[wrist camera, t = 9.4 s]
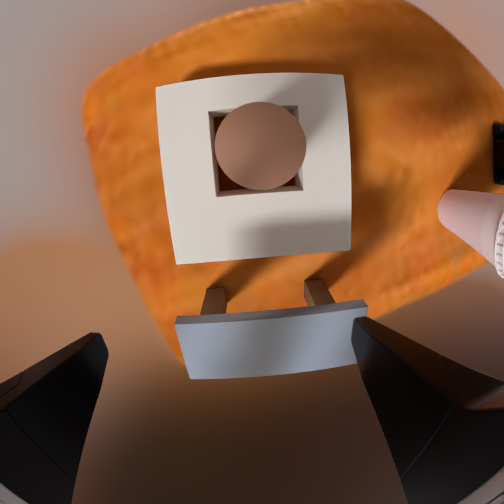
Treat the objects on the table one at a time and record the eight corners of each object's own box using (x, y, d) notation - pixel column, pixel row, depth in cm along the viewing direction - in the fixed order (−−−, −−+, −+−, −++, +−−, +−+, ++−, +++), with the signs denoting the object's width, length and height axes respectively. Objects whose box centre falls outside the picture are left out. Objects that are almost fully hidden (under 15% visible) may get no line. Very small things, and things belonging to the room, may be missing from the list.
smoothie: (463, 165, 19) (583, 196, 6) (476, 223, 21) (577, 278, 8) (419, 191, 20) (551, 242, 7) (434, 252, 22) (539, 330, 9)
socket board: (330, 84, 17) (343, 75, 14) (337, 237, 21) (350, 249, 19) (167, 95, 17) (155, 87, 14) (185, 249, 21) (176, 264, 19)
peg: (281, 121, 18) (302, 100, 11) (285, 175, 20) (309, 187, 12) (225, 125, 18) (211, 106, 11) (230, 179, 20) (219, 193, 12)
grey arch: (325, 250, 22) (368, 306, 13) (324, 294, 23) (358, 362, 15) (199, 260, 22) (174, 324, 13) (206, 304, 23) (190, 378, 15)
